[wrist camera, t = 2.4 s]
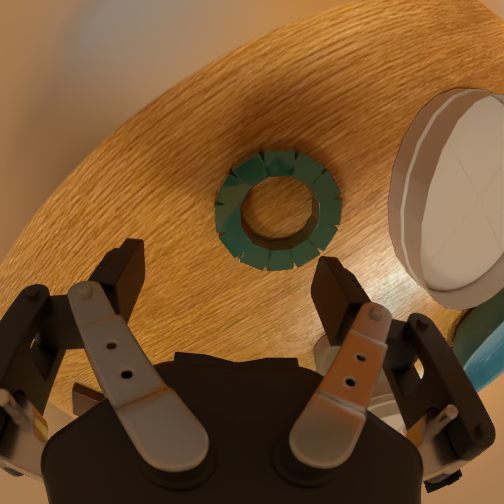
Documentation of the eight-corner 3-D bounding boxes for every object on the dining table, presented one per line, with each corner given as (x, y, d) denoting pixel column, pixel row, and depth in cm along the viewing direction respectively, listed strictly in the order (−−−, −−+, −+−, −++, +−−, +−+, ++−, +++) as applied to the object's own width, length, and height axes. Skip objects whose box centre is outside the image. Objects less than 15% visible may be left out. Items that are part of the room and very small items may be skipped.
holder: (75, 407, 34) (57, 470, 23) (74, 382, 31) (50, 457, 19) (124, 425, 37) (113, 491, 25) (132, 405, 33) (118, 483, 22)
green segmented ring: (196, 232, 22) (194, 242, 20) (251, 125, 18) (253, 126, 17) (295, 274, 25) (300, 286, 23) (353, 184, 21) (363, 190, 19)
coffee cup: (374, 308, 27) (426, 397, 17) (369, 357, 32) (404, 435, 21) (297, 329, 28) (326, 433, 17) (304, 376, 32) (326, 462, 21)
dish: (339, 206, 22) (365, 232, 17) (467, 46, 15) (502, 44, 10) (443, 312, 29) (463, 337, 25) (532, 191, 22) (557, 205, 18)
